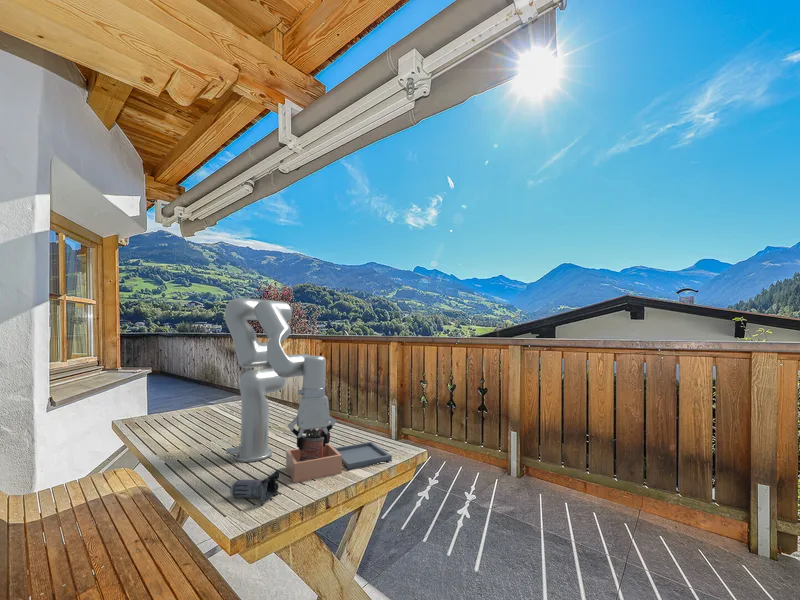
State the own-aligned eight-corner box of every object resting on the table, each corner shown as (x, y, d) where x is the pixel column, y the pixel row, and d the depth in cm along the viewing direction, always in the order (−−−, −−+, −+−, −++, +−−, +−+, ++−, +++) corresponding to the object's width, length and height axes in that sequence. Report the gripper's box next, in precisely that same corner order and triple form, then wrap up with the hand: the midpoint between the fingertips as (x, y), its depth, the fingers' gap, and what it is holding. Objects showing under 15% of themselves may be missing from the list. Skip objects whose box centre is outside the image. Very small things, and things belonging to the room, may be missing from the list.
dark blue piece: (279, 499, 96) (240, 499, 98) (281, 469, 98) (243, 469, 100) (261, 509, 87) (219, 508, 89) (264, 475, 89) (222, 475, 91)
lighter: (324, 459, 114) (325, 428, 115) (320, 463, 111) (321, 431, 112) (302, 457, 116) (303, 427, 116) (297, 461, 112) (298, 430, 113)
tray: (348, 470, 112) (348, 464, 112) (332, 453, 128) (332, 448, 128) (391, 461, 119) (391, 455, 120) (371, 446, 135) (371, 441, 135)
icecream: (318, 424, 146) (302, 438, 131) (334, 420, 144) (319, 434, 130) (323, 440, 145) (306, 456, 130) (338, 437, 144) (324, 452, 129)
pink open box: (294, 482, 103) (294, 463, 103) (286, 467, 115) (286, 450, 116) (341, 472, 110) (341, 455, 110) (329, 459, 122) (329, 443, 123)
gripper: (289, 396, 108) (286, 455, 106) (342, 392, 116) (340, 446, 114) (285, 392, 114) (282, 447, 113) (335, 389, 122) (333, 440, 121)
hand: (311, 446), depth 114 cm, fingers closed on lighter, 7 cm apart
